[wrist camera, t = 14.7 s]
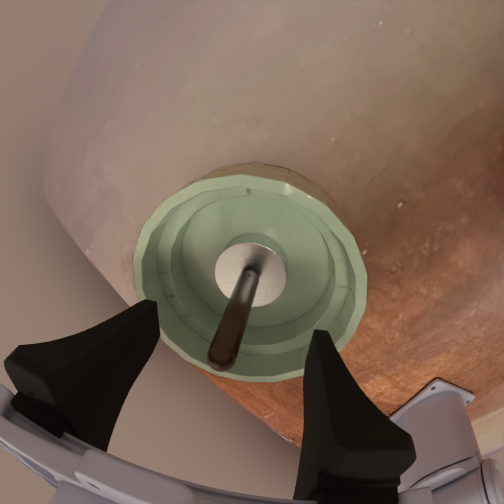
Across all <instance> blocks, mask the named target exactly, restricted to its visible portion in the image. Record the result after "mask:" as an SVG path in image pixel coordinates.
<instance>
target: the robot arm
mask: <svg viewBox="0 0 504 504" xmlns="http://www.w3.org/2000/svg"><path fill="white" fill-rule="evenodd" d="M160 335H161V334H160V326H159V317H158V308H157V301H153V300H148V299H144V300H142V301H140V302H139V303H137V304H135V305H133V306H131V307H130V308H128V309H126V310H125V311H123V312H121V313H119V314H117V315H116V316H114V317H112V318H110V319H108V320H106V321H104V322H102V323H100V324H98V325H97V326H94V327H92V328H90V329H87V330H85V331H83V332H80V333H78V334H75V335H71V336H68V337H64V338H61V339H58V340H53V341H49V342H43V343H37V344H28V345H19V346H18V347H17V348H16V349H15V350H14V351H13V352H12V353H11V354H10V355H9V356H8V357H7V358H6V359H5V361H4V366H5V370H6V372H7V374H8V375H9V377H10V379H11V380H12V382H13V384H14V386H15V387H16V389H17V391H18V393H17V394H16V395H14V394H13V393H12V392H11V391H10V390H9V389H7V388H6V387H4V386H3V385H2V384H0V446H1V447H2V448H3V449H4V450H5V451H7V452H8V453H9V454H10V455H11V456H13V457H14V458H15V459H16V460H17V461H19V462H20V463H21V464H22V465H24V466H25V467H26V468H28V469H29V470H30V471H32V472H33V473H34V474H36V475H37V476H38V477H40V478H41V479H43V480H44V481H45V482H47V483H48V484H50V485H51V486H53V487H54V488H56V489H57V490H56V492H55V494H54V495H53V497H52V499H51V501H50V503H49V504H504V477H503V473H502V471H501V468H500V466H499V464H498V462H497V461H496V460H495V459H491V458H486V459H485V460H483V459H482V457H481V454H480V450H479V447H478V444H477V440H476V437H475V434H474V431H473V428H472V425H471V422H470V420H469V417H468V414H467V411H466V408H465V407H466V406H467V405H468V404H469V403H470V402H471V401H473V400H474V398H475V395H474V394H473V393H470V392H468V391H466V390H463V389H461V388H459V387H456V386H454V385H452V384H449V383H447V382H445V381H443V380H440V379H436V380H434V381H433V382H431V383H430V384H429V385H428V386H427V387H426V388H425V389H424V390H422V391H421V392H420V393H419V394H418V395H417V396H416V397H414V398H413V399H412V400H411V401H410V402H408V403H407V404H406V405H405V406H403V407H402V408H401V409H400V410H398V411H397V412H396V413H394V414H393V415H392V416H391V417H389V418H388V417H387V416H386V415H384V414H383V413H382V412H381V411H380V410H379V409H378V408H377V407H376V406H375V405H374V404H373V403H372V402H371V401H370V399H369V398H368V397H367V396H366V395H365V394H364V392H363V391H362V390H361V388H360V387H359V386H358V384H357V383H356V381H355V380H354V378H353V377H352V375H351V374H350V372H349V371H348V369H347V367H346V366H345V364H344V362H343V360H342V358H341V357H340V355H339V353H338V351H337V349H336V347H335V345H334V342H333V340H332V338H331V336H330V333H329V332H328V331H326V330H318V329H314V331H313V335H312V339H311V342H310V346H309V350H308V353H307V357H306V360H305V367H304V378H303V399H304V430H303V439H302V448H301V456H300V462H299V469H298V475H297V481H296V486H295V491H294V497H293V500H288V499H278V498H269V497H261V496H254V495H247V494H241V493H236V492H231V491H225V490H220V489H216V488H211V487H207V486H203V485H199V484H195V483H191V482H187V481H184V480H180V479H176V478H174V477H170V476H167V475H163V474H161V473H158V472H155V471H152V470H149V469H146V468H143V467H141V466H138V465H135V464H133V463H130V462H128V461H125V460H123V459H120V458H118V457H116V456H113V455H111V454H109V453H106V452H107V448H108V445H109V441H110V438H111V435H112V432H113V429H114V426H115V423H116V421H117V418H118V416H119V413H120V411H121V408H122V406H123V404H124V401H125V399H126V397H127V395H128V392H129V391H130V389H131V387H132V385H133V383H134V382H135V380H136V379H137V377H138V375H139V374H140V372H141V371H142V369H143V367H144V366H145V364H146V363H147V361H148V359H149V358H150V356H151V354H152V353H153V351H154V349H155V346H156V344H157V342H158V340H159V337H160Z"/></svg>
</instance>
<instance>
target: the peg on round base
mask: <svg viewBox="0 0 504 504" xmlns="http://www.w3.org/2000/svg"><path fill="white" fill-rule="evenodd" d="M214 273H215V280H216V282H217V285H218V287H219V289H220V290H221V291H222V293H223V294H224V295H225V296H226V297H227V298H229V302H228V304H227V306H226V309H225V311H224V314H223V316H222V318H221V321H220V323H219V326H218V328H217V330H216V333H215V335H214V337H213V340H212V342H211V345H210V347H209V349H208V352H207V362H208V364H209V366H210V367H211V368H212V369H213V370H215V371H218V372H225V371H228V370H229V369H231V368H232V367H233V366H234V364H235V362H236V359H237V355H238V352H239V348H240V345H241V342H242V338H243V335H244V332H245V328H246V325H247V321H248V318H249V314H250V311H251V308H252V307H260V306H264V305H267V304H270V303H271V302H273V301H275V300H276V299H277V298H278V297H279V296H280V295H281V294H282V292H283V291H284V289H285V286H286V282H287V275H288V259H287V256H286V254H285V252H284V250H283V248H282V247H281V246H280V245H279V244H278V243H277V242H276V241H275V240H273V239H272V238H270V237H268V236H266V235H263V234H259V233H245V234H241V235H238V236H236V237H234V238H233V239H232V240H230V241H229V242H228V243H227V244H226V246H225V247H224V249H223V250H222V252H221V254H220V255H219V257H218V259H217V261H216V264H215V270H214Z"/></svg>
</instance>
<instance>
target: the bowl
mask: <svg viewBox="0 0 504 504" xmlns="http://www.w3.org/2000/svg"><path fill="white" fill-rule="evenodd" d="M245 233H259V234H263V235H266V236H268V237H270V238H272V239H273V240H275V241H276V242H277V243H278V244H279V245H280V246H281V247H282V248H283V250H284V252H285V254H286V256H287V259H288V275H287V282H286V286H285V289H284V291H283V292H282V294H281V295H280V296H279V297H278V298H277V299H276V300H275V301H273V302H271V303H270V304H267V305H264V306H260V307H252V308H251V311H250V314H249V318H248V321H247V325H246V328H245V332H244V335H243V338H242V342H241V345H240V348H239V352H238V355H237V359H236V362H235V364H234V366H233V367H232V368H231V369H229V370H228V371H225V372H218V371H215V370H213V369H212V368H211V367H210V366H209V364H208V362H207V352H208V349H209V347H210V345H211V342H212V340H213V337H214V335H215V333H216V330H217V328H218V326H219V323H220V321H221V318H222V316H223V314H224V311H225V309H226V306H227V304H228V302H229V298H227V297H226V296H225V295H224V294H223V293H222V291H221V290H220V289H219V287H218V285H217V282H216V280H215V273H214V270H215V264H216V261H217V259H218V257H219V255H220V254H221V252H222V250H223V249H224V247H225V246H226V244H227V243H228V242H229V241H230V240H232V239H233V238H234V237H236V236H238V235H241V234H245ZM133 267H134V287H135V291H136V293H137V296H138V299H139V302H140V301H142V300H144V299H148V300H153V301H157V308H158V317H159V326H160V334H161V335H160V338H161V339H162V340H163V341H164V342H165V343H166V344H167V345H168V346H169V347H171V348H172V349H173V350H174V351H175V352H177V353H178V354H179V355H180V356H182V357H183V358H184V359H185V360H187V361H188V362H190V363H192V364H194V365H196V366H198V367H200V368H202V369H204V370H206V371H208V372H210V373H212V374H215V375H218V376H222V377H226V378H230V379H235V380H239V381H243V382H278V381H282V380H287V379H291V378H295V377H299V376H303V375H304V367H305V360H306V357H307V353H308V350H309V346H310V342H311V339H312V335H313V331H314V329H318V330H326V331H328V332H329V333H330V336H331V338H332V340H333V342H334V345H335V347H336V349H337V351H338V353H339V352H340V351H341V350H342V349H343V348H344V347H345V346H346V345H347V343H348V342H349V341H350V340H351V339H352V338H353V336H354V334H355V332H356V330H357V328H358V325H359V323H360V321H361V318H362V316H363V314H364V311H365V309H366V300H367V271H366V268H365V265H364V262H363V260H362V257H361V254H360V251H359V249H358V246H357V243H356V241H355V238H354V236H353V233H352V231H351V229H350V227H349V224H348V222H347V220H346V218H345V215H344V213H343V212H342V210H341V209H340V208H339V207H338V206H337V205H336V204H335V202H334V201H333V200H332V199H331V198H330V197H329V196H328V194H327V193H326V192H325V191H324V190H323V189H322V188H321V187H320V186H318V185H317V184H315V183H313V182H311V181H310V180H308V179H306V178H304V177H303V176H301V175H299V174H297V173H295V172H294V171H292V170H289V169H285V168H280V167H274V166H269V165H263V164H258V163H255V164H254V163H251V164H244V165H238V166H231V167H225V168H221V169H218V170H216V171H214V172H213V173H211V174H209V175H207V176H205V177H203V178H201V179H200V180H198V181H196V182H194V183H192V184H190V185H189V186H187V187H185V188H183V189H182V190H180V191H178V192H176V193H175V194H173V195H171V196H169V197H168V198H166V199H165V200H164V201H163V202H162V203H161V204H160V205H159V207H158V208H157V209H156V210H155V212H154V213H153V214H152V215H151V217H150V218H149V219H148V220H147V222H146V223H145V224H144V225H143V227H142V230H141V233H140V236H139V240H138V243H137V246H136V249H135V252H134V256H133Z"/></svg>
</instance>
